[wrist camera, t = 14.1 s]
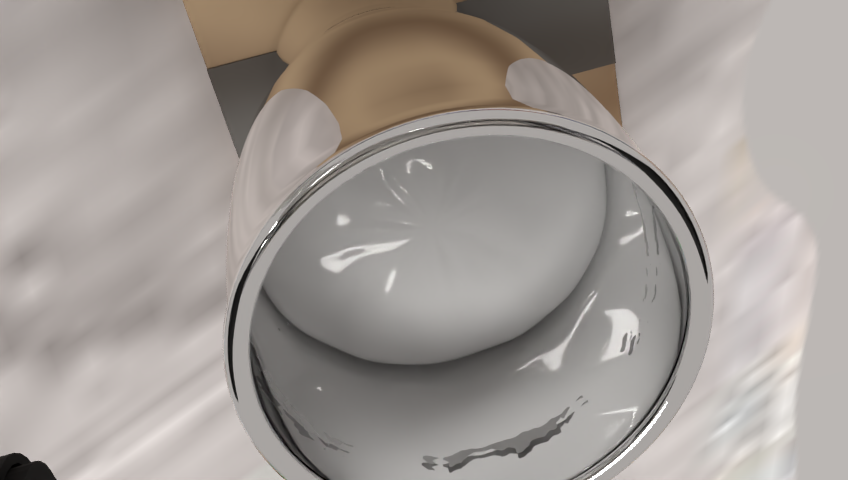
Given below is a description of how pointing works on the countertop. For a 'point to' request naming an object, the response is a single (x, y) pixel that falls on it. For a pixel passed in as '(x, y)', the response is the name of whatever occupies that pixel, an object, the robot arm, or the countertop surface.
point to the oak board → (498, 3)
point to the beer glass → (451, 260)
